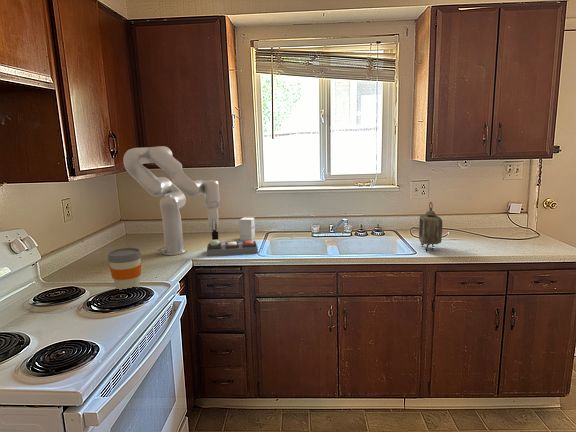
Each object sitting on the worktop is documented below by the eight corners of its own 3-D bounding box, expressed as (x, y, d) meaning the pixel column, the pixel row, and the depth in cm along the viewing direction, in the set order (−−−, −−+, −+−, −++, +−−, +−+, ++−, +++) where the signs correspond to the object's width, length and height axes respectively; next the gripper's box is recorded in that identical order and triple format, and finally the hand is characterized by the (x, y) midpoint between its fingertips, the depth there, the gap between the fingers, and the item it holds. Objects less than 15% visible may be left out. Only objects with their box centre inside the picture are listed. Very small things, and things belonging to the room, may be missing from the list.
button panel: (207, 256, 208) (206, 247, 207) (207, 250, 217) (207, 242, 216) (257, 252, 212) (257, 244, 211) (256, 247, 221) (255, 239, 221)
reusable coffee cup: (133, 293, 159) (130, 256, 156) (104, 292, 161) (100, 255, 158) (149, 282, 171) (146, 248, 168) (122, 281, 173) (119, 247, 171)
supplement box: (251, 241, 236) (251, 219, 234) (239, 240, 238) (238, 219, 235) (255, 238, 243) (254, 217, 241) (243, 237, 245) (242, 217, 243)
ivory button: (227, 248, 211) (227, 244, 211) (227, 245, 216) (227, 241, 216) (237, 247, 212) (236, 243, 212) (236, 244, 217) (236, 241, 216)
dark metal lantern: (418, 245, 221) (420, 199, 216) (435, 245, 219) (438, 199, 215) (422, 252, 207) (425, 204, 202) (441, 253, 205) (444, 204, 201)
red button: (244, 246, 213) (244, 243, 212) (244, 244, 217) (244, 240, 217) (254, 246, 213) (254, 242, 213) (253, 243, 218) (253, 240, 218)
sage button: (209, 246, 209) (209, 242, 209) (209, 244, 214) (209, 240, 214) (219, 246, 210) (219, 242, 210) (219, 243, 215) (219, 239, 215)
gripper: (205, 202, 215) (208, 236, 218) (204, 207, 200) (207, 243, 204) (220, 201, 216) (222, 235, 219) (220, 206, 201) (222, 242, 205)
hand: (215, 239), depth 212 cm, fingers closed
